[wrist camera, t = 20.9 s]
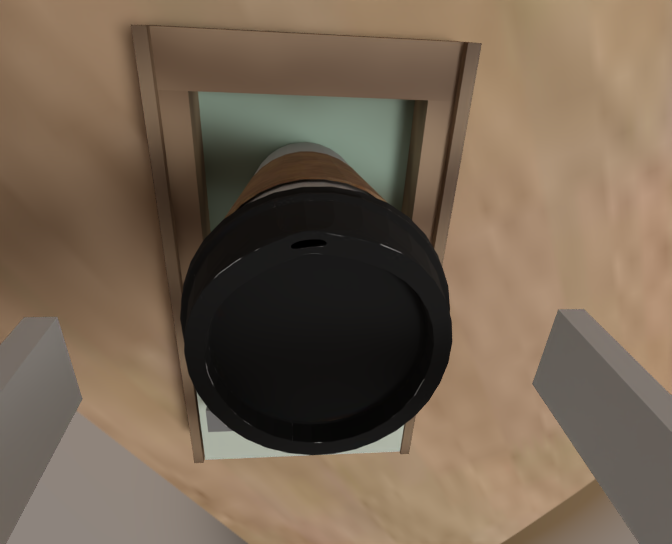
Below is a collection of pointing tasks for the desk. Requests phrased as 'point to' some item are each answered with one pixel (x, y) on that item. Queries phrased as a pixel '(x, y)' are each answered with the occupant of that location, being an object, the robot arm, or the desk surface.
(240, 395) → the coffee cup
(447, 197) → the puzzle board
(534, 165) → the desk surface
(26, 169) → the desk surface
